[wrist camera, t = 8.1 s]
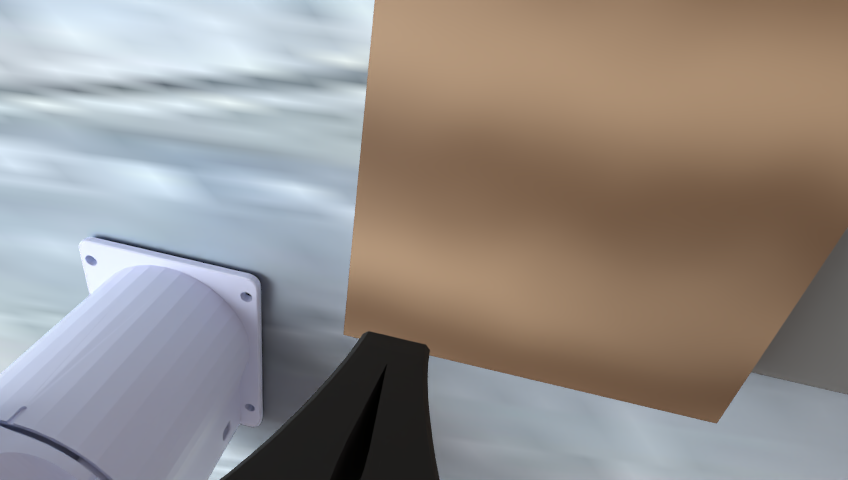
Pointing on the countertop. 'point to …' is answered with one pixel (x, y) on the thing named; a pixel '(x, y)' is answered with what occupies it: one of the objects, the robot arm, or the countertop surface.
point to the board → (600, 186)
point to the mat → (815, 331)
